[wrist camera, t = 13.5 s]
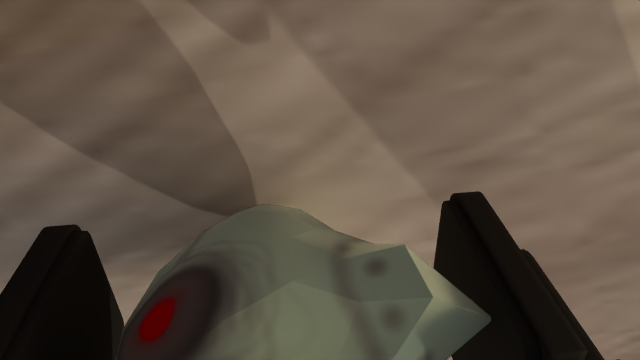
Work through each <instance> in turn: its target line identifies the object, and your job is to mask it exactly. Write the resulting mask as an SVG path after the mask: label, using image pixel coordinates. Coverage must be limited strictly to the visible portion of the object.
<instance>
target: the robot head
mask: <svg viewBox="0 0 640 360" xmlns="http://www.w3.org/2000/svg"><path fill="white" fill-rule="evenodd" d="M490 322H491V316H490V315H489V314H487V313H486V312H485V311H484V310H483V309H481V308H480V307H479V306H478V305H477V304H475V303H474V302H473V301H472V300H471V299H469V298H468V297H467V296H466V295H465V294H463V293H462V292H461V291H460V290H459V289H457V288H456V287H455V286H454V285H453V284H451V283H450V282H449V281H448V280H447V279H445V278H444V277H443V276H442V275H441V274H439V273H438V272H437V271H436V270H435V269H433V268H432V267H431V266H430V265H429V264H427V263H426V262H425V261H424V260H423V259H421V258H420V257H419V256H418V255H417V254H415V253H414V252H413V251H412V250H411V249H409V248H408V247H407V246H406V245H401V244H373V243H370V242H367V241H364V240H361V239H358V238H355V237H352V236H349V235H346V234H343V233H340V232H337V231H335V230H333V229H332V228H330V227H329V226H327V225H325V224H324V223H322V222H320V221H319V220H317V219H316V218H314V217H312V216H311V215H309V214H308V213H306V212H304V211H303V210H301V209H296V208H289V207H282V206H275V205H268V204H261V205H258V206H255V207H252V208H249V209H245V210H242V211H239V212H237V213H236V214H234V215H232V216H230V217H228V218H227V219H225V220H223V221H221V222H219V223H217V224H216V225H214V226H212V227H210V228H208V229H207V230H205V231H204V232H202V233H201V234H200V235H199V236H198V237H197V238H195V239H194V240H193V241H192V242H191V243H189V244H188V245H187V246H186V247H185V248H184V249H183V250H182V251H181V252H180V253H178V254H177V255H176V256H175V257H174V258H173V259H172V260H171V261H170V262H169V263H168V264H166V265H165V266H164V267H163V268H162V269H161V270H160V271H159V272H158V273H157V275H156V277H155V278H154V280H153V281H152V283H151V285H150V286H149V288H148V289H147V291H146V293H145V294H144V296H143V297H142V299H141V301H140V302H139V304H138V305H137V307H136V309H135V310H134V312H133V313H132V315H131V317H130V318H129V320H128V321H127V323H126V325H125V326H124V328H123V330H122V335H121V339H120V344H119V348H118V353H117V358H116V360H446V359H448V358H449V357H450V356H451V355H452V354H453V353H455V352H456V351H457V350H458V349H459V348H460V347H462V346H463V345H464V344H465V343H466V342H467V341H469V340H470V339H471V338H472V337H473V336H474V335H476V334H477V333H478V332H479V331H480V330H481V329H483V328H484V327H485V326H486V325H487V324H488V323H490Z"/></svg>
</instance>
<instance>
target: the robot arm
mask: <svg viewBox="0 0 640 360" xmlns="http://www.w3.org/2000/svg"><path fill="white" fill-rule="evenodd" d="M433 269H435V270H436V271H437V272H438V273H439V274H441V275H442V276H443V277H444V278H445V279H447V280H448V281H449V282H450V283H451V284H453V285H454V286H455V287H456V288H457V289H459V290H460V291H461V292H462V293H463V294H465V295H466V296H467V297H468V298H469V299H471V300H472V301H473V302H474V303H475V304H477V305H478V306H479V307H480V308H481V309H483V310H484V311H485V312H486V313H487V314H489V315H490V316H491V322H490V323H488V324H487V325H486V326H485V327H484V328H483V329H481V330H480V331H479V332H478V333H477V334H476V335H474V336H473V337H472V338H471V339H470V340H469V341H467V342H466V343H465V344H464V345H463V346H462V347H460V348H459V349H458V350H457V351H456V352H455V353H453V354H452V355H451V356H452V358H453V360H604V358H603V357H602V355H601V354H600V353H599V351H598V350H597V348H596V347H595V345H594V344H593V342H592V341H591V340H590V338H589V337H588V335H587V334H586V332H585V331H584V329H583V328H582V327H581V325H580V324H579V322H578V321H577V319H576V318H575V316H574V315H573V314H572V312H571V311H570V309H569V308H568V306H567V305H566V303H565V302H564V301H563V299H562V298H561V296H560V295H559V293H558V292H557V290H556V289H555V288H554V286H553V285H552V283H551V282H550V280H549V279H548V278H547V276H546V275H545V273H544V272H543V270H542V269H541V267H540V266H539V265H538V263H537V262H536V260H535V259H534V257H533V256H532V255H531V254H530V253H529V252H528V251H526V250H524V249H522V250H520V249H519V247H518V246H517V244H516V243H515V241H514V240H513V238H512V237H511V235H510V234H509V232H508V231H507V229H506V228H505V226H504V225H503V223H502V222H501V220H500V219H499V217H498V216H497V214H496V213H495V211H494V210H493V208H492V207H491V205H490V204H489V203H488V201H487V200H486V198H485V197H484V195H483V194H482V193H481V192H466V193H454V194H452V196H451V197H450V201H444V202H443V204H442V209H441V216H440V223H439V231H438V238H437V246H436V253H435V261H434V268H433ZM123 328H124V321H123V317H122V315H121V312H120V310H119V307H118V305H117V302H116V299H115V297H114V294H113V292H112V289H111V287H110V284H109V281H108V279H107V276H106V274H105V271H104V268H103V266H102V263H101V261H100V258H99V256H98V253H97V250H96V248H95V245H94V243H93V240H92V238H91V235H90V233H89V232H88V231H81V229H80V227H79V226H77V225H61V226H49V227H45V228H43V229H42V230H41V232H40V233H39V235H38V236H37V238H36V240H35V241H34V243H33V244H32V246H31V247H30V249H29V251H28V252H27V254H26V255H25V257H24V258H23V260H22V261H21V263H20V265H19V266H18V268H17V269H16V271H15V272H14V274H13V276H12V277H11V279H10V280H9V282H8V283H7V285H6V287H5V288H4V290H3V291H2V293H1V294H0V360H116V357H117V353H118V348H119V344H120V339H121V335H122V330H123ZM618 360H619V359H618Z"/></svg>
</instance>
